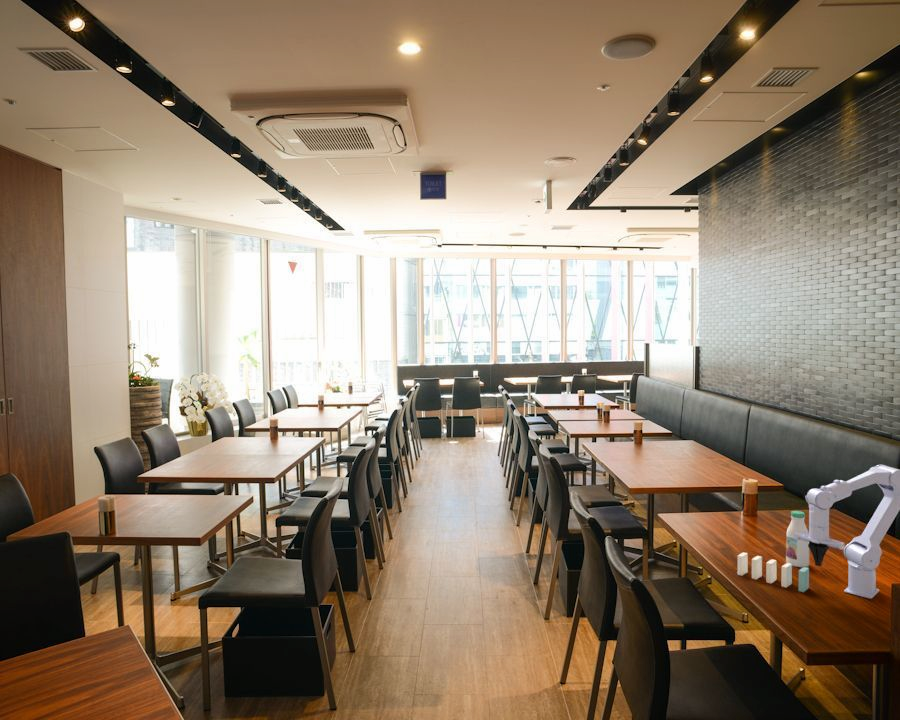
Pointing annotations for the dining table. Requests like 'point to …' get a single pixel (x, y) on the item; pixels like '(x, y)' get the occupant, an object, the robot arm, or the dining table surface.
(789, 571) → the domino
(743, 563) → the domino
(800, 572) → the domino teal
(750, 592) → the dining table surface
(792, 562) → the milk bottle
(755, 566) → the domino
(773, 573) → the domino
